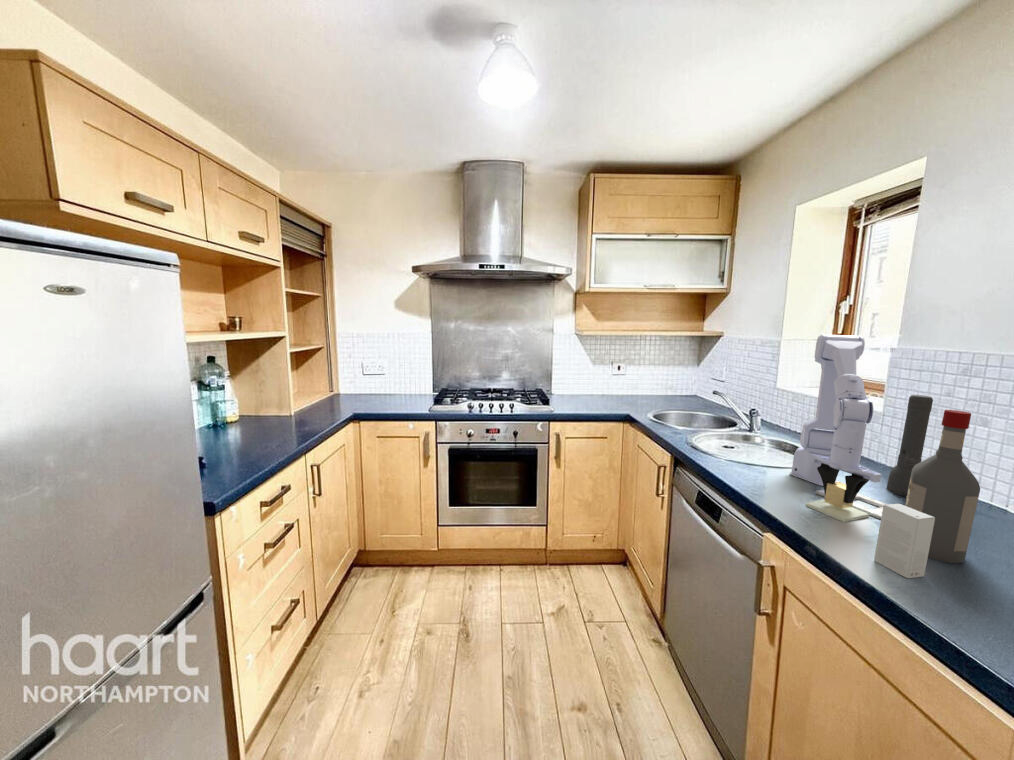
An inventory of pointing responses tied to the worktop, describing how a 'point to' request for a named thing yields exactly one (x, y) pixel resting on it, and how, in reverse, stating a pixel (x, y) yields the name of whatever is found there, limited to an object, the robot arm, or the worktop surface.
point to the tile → (837, 511)
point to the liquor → (947, 491)
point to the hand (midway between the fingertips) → (838, 498)
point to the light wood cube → (836, 495)
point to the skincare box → (904, 540)
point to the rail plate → (872, 512)
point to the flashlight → (910, 443)
